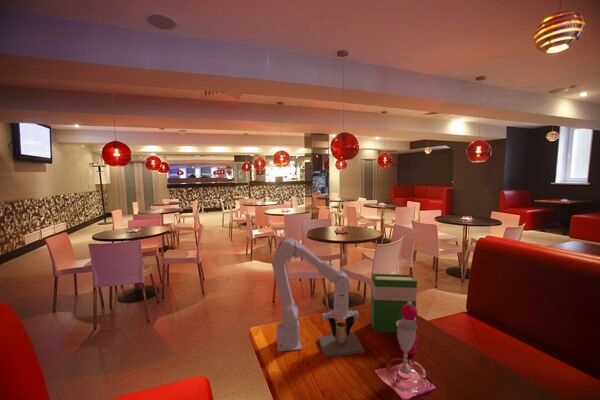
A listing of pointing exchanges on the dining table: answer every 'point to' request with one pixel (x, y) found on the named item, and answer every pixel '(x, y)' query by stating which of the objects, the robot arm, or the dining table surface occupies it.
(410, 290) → the hardback book
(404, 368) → the chalice
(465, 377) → the dining table surface
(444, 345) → the dining table surface
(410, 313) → the pepper mill
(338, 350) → the pin board
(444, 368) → the dining table surface
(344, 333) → the wooden collar
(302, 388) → the dining table surface
